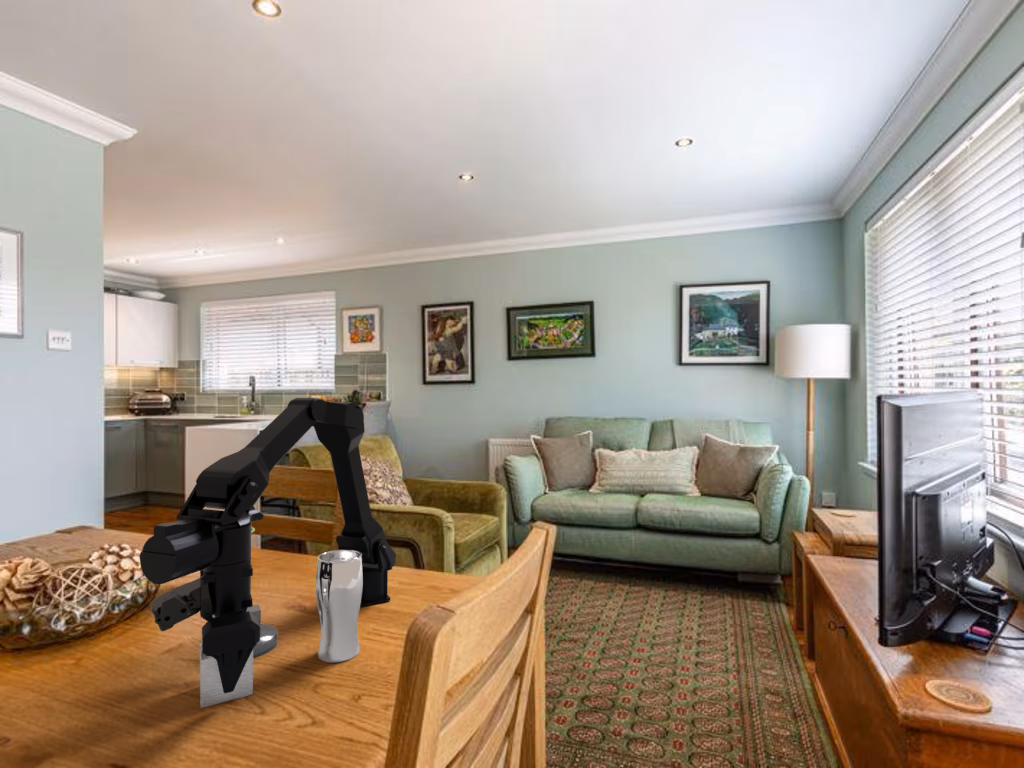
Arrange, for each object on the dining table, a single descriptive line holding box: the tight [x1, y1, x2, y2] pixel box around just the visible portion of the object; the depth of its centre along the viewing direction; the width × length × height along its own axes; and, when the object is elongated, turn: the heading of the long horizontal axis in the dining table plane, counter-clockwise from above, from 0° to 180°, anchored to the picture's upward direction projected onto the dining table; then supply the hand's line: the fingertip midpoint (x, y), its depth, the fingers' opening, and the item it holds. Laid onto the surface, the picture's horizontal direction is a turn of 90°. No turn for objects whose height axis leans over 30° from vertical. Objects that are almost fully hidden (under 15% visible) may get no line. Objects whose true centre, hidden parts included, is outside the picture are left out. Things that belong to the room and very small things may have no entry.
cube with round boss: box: [199, 641, 254, 709], centre depth 72 cm, size 6×6×8 cm
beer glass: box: [315, 549, 363, 664], centre depth 83 cm, size 7×7×15 cm
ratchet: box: [246, 602, 278, 659], centre depth 89 cm, size 18×8×6 cm, turn 31°
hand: (226, 675), depth 72 cm, fingers open, 9 cm apart
